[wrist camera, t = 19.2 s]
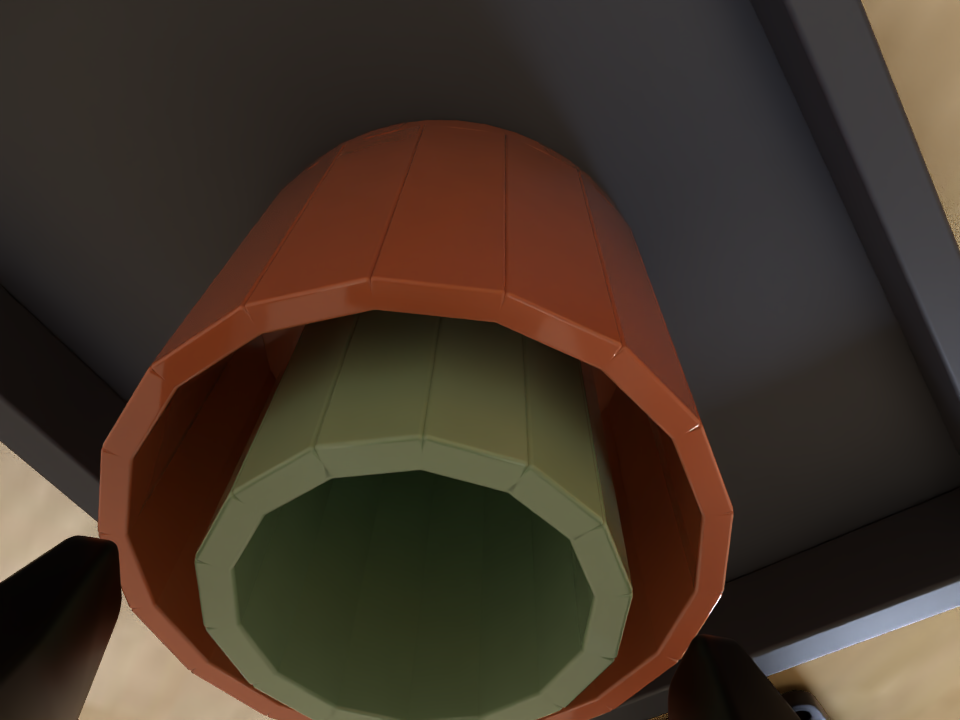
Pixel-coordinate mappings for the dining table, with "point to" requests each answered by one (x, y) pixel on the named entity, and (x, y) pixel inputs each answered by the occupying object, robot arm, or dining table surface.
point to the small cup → (420, 527)
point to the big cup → (436, 292)
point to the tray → (610, 164)
